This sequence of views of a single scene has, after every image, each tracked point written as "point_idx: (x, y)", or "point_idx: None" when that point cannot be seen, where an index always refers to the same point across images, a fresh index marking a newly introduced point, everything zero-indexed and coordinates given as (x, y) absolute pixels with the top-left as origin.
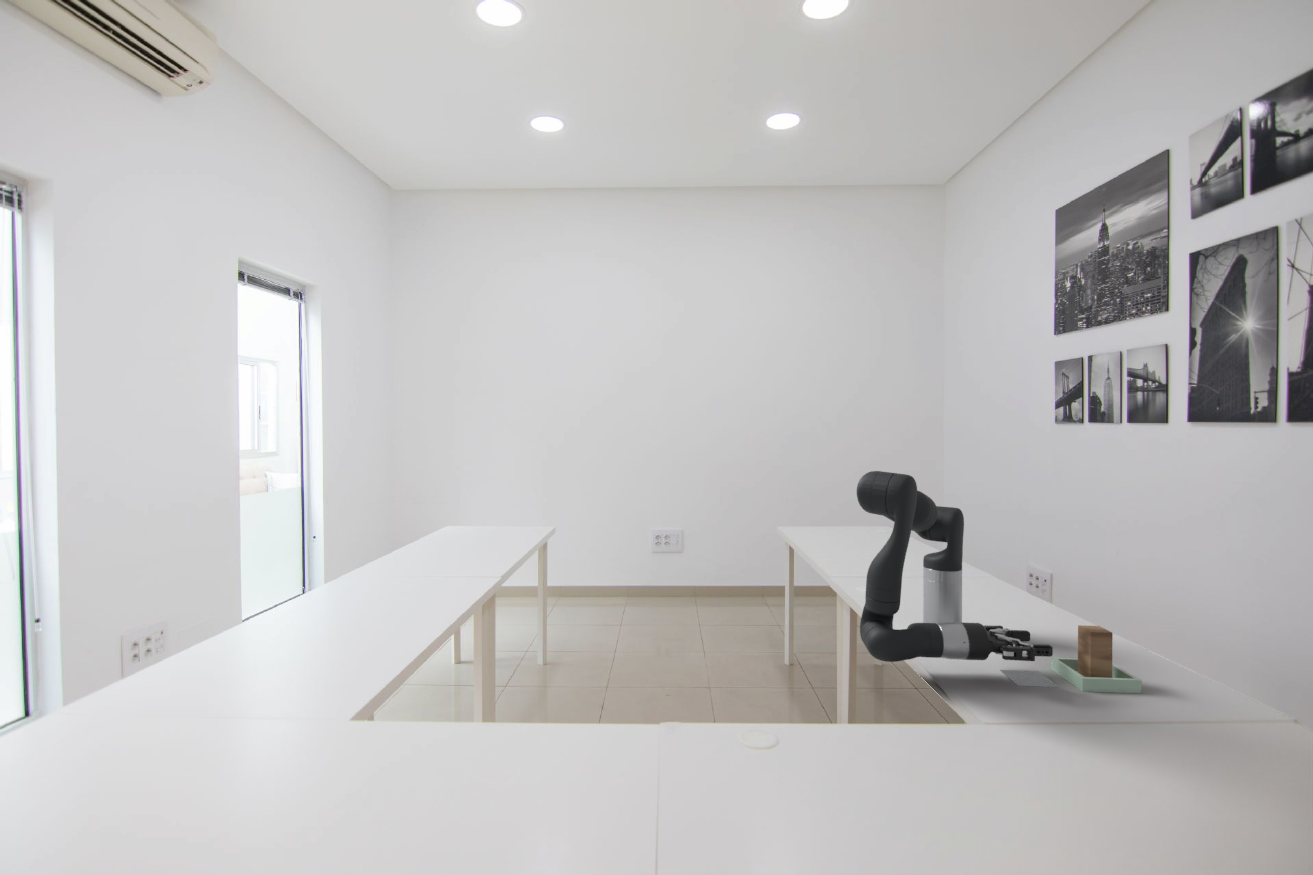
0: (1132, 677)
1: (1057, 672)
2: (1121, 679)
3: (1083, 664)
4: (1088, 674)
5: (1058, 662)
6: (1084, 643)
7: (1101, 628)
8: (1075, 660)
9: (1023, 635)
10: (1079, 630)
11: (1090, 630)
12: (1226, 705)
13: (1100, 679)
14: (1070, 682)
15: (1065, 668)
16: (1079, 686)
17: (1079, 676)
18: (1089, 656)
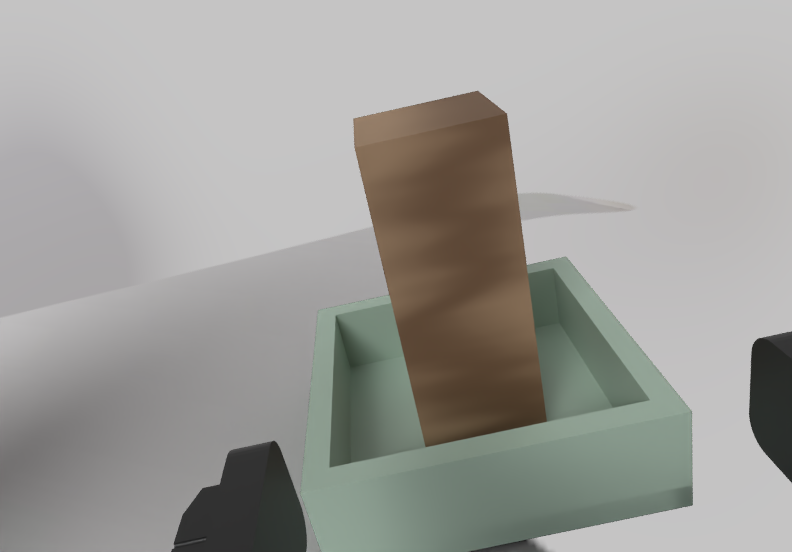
0: (540, 271)
1: (398, 537)
2: (594, 294)
3: (468, 364)
4: (522, 389)
5: (395, 475)
6: (451, 234)
7: (404, 111)
8: (335, 398)
9: (283, 535)
10: (381, 176)
11: (466, 118)
12: (526, 219)
13: (640, 350)
14: (558, 509)
15: (485, 464)
16: (659, 475)
17: (656, 419)
18: (519, 284)
